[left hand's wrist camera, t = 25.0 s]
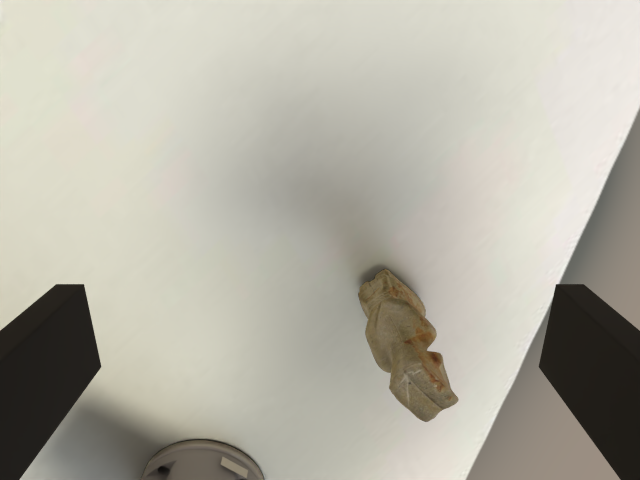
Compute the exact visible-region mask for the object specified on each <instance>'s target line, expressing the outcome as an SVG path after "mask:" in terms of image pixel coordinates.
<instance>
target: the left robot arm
mask: <svg viewBox="0 0 640 480" xmlns="http://www.w3.org/2000/svg"><path fill="white" fill-rule="evenodd" d="M100 368H101V363H100V359H99V354H98V349H97V344H96V340H95V335H94V330H93V325H92V321H91V316H90V311H89V306H88V302H87V297H86V292H85V287H84V284H56V285H55V286H54V287H53V288H51V289H50V290H49V291H48V292H47V293H45V294H44V295H43V296H42V297H41V298H39V299H38V300H37V301H36V302H34V303H33V304H32V305H31V306H30V307H28V308H27V309H26V310H25V311H24V312H22V313H21V314H20V315H19V316H18V317H16V318H15V319H14V320H13V321H12V322H10V323H9V324H8V325H7V326H6V327H4V328H3V329H2V330H1V331H0V480H19V479H20V478H21V477H22V475H23V474H24V472H25V471H26V470H27V468H28V467H29V466H30V464H31V463H32V461H33V460H34V459H35V457H36V456H37V455H38V453H39V452H40V450H41V449H42V448H43V446H44V445H45V444H46V442H47V441H48V439H49V438H50V437H51V435H52V434H53V433H54V431H55V430H56V428H57V427H58V426H59V424H60V423H61V422H62V420H63V419H64V417H65V416H66V415H67V413H68V412H69V411H70V409H71V408H72V406H73V405H74V404H75V402H76V401H77V400H78V398H79V397H80V395H81V394H82V393H83V391H84V390H85V389H86V387H87V386H88V384H89V383H90V382H91V380H92V379H93V378H94V376H95V375H96V373H97V372H98V371H99V369H100ZM539 368H540V369H541V371H542V372H543V373H544V375H545V376H546V378H547V379H548V380H549V382H550V383H551V384H552V386H553V387H554V389H555V390H556V391H557V393H558V394H559V395H560V397H561V398H562V400H563V401H564V402H565V403H566V405H567V406H568V408H569V409H570V411H571V412H572V413H573V415H574V416H575V417H576V419H577V420H578V422H579V423H580V424H581V426H582V427H583V428H584V430H585V431H586V433H587V434H588V435H589V437H590V438H591V439H592V441H593V442H594V444H595V445H596V446H597V448H598V449H599V450H600V452H601V453H602V454H603V456H604V457H605V459H606V460H607V461H608V463H609V464H610V466H611V467H612V468H613V470H614V471H615V472H616V474H617V475H618V477H619V478H620V479H621V480H640V331H639V330H638V329H637V328H636V327H634V326H633V325H632V324H631V323H630V322H628V321H627V320H626V319H625V318H624V317H622V316H621V315H620V314H619V313H618V312H616V311H615V310H614V309H613V308H612V307H610V306H609V305H608V304H607V303H606V302H604V301H603V300H602V299H601V298H599V297H598V296H597V295H596V294H595V293H593V292H592V291H591V290H590V289H589V288H587V287H586V286H585V285H583V284H556V287H555V292H554V297H553V302H552V306H551V311H550V316H549V321H548V325H547V330H546V335H545V340H544V344H543V349H542V354H541V359H540V363H539ZM141 480H264V478H263V475H262V473H261V471H260V469H259V468H258V467H257V465H256V464H255V463H254V462H253V461H252V460H251V459H250V458H249V457H248V456H246V455H245V454H244V453H242V452H241V451H239V450H237V449H235V448H233V447H231V446H228V445H225V444H222V443H219V442H214V441H206V440H191V441H184V442H179V443H176V444H173V445H170V446H168V447H166V448H164V449H163V450H161V451H159V452H158V453H157V454H156V455H155V456H154V457H153V458H152V459H151V460H150V461H149V463H148V464H147V466H146V468H145V471H144V473H143V475H142V478H141Z"/></svg>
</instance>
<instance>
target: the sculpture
mask: <svg viewBox="0 0 640 480" xmlns="http://www.w3.org/2000/svg"><path fill="white" fill-rule="evenodd" d="M358 295H359V300H360V303H361V306H362V308H363V311H364V313H365V315H366V317H367V318H368V322H367V326H366V331H365V334H366V338H367V341H368V343H369V346H370V348H371V351H372V353H373V356H374V358H375V361H376V362H377V364H378V366H379V367H380V368H381V369H382V370H384V371H385V372H388V373H391V379H390V386H389V389H390V390H391V392H392V394H394V396H395V397H396V399H397V400H398V401H399V402H400V403H401V404H402V405H404V406H405V407H406V408H407V409H409V410H410V411H411V412H412V413H413V414H414V415H415V416H416V417H417V418H419V419H420V420H422V421H425V422H428V421H430V420H431V419H433V418H435V417H436V415H437V414H438V413H439V412H440V411H442V410H443V409H446V408H449V407H451V406H452V405H454V404H456V403H457V402H458V397H457V396H456V395H455V394H454V393H453V391H452V390H451V388H450V384H449V380H448V377H447V374H446V371H445V368H444V364H443V357H442V355H441V354H440V353H437V352H430V351H427V348H428V347H429V346H430V345H431V344H432V343H433V341H434V340H435V338H436V330H435V328H434V327H433V326H432V325H431V323H430V322H429V321H428V320H427V319H426V318H425V314H426V311H425V307H424V305H423V303H422V301H421V300H420V299H419V297H418V296H417V295H416V294H415V293H414V292H413V291H411V290H410V289H409V288H408V287H407V286H405V285H404V284H403V283H401V282H400V281H399V280H398V279H397V278H396V277H395V276H394V275H392V273H391V272H390V271H388V270H387V269H384V270H382V271H380V272H379V273H377V274H376V276H375V279H374V280H372V281H371V282H369V281H367V282H365V283H364V284H363V285H362V286H361V287H360V292H359V293H358Z"/></svg>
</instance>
